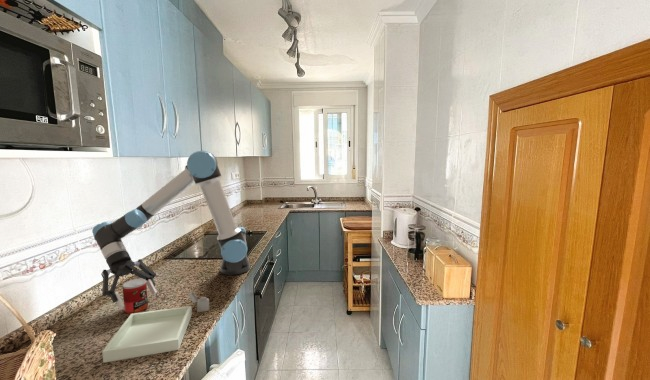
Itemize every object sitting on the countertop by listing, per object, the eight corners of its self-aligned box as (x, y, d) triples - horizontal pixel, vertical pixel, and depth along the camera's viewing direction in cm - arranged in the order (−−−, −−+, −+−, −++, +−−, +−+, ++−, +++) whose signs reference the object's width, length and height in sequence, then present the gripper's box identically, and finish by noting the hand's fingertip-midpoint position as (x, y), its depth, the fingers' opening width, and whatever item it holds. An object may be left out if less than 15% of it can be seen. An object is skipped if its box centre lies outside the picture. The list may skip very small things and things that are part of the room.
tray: (191, 314, 103) (191, 305, 103) (178, 349, 84) (178, 339, 84) (131, 322, 98) (131, 313, 97) (103, 362, 79) (102, 351, 78)
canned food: (136, 315, 102) (134, 288, 101) (119, 313, 104) (116, 286, 103) (153, 304, 110) (151, 279, 108) (136, 302, 111) (134, 277, 110)
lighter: (209, 308, 107) (208, 289, 107) (208, 310, 106) (207, 291, 105) (190, 310, 106) (188, 291, 105) (189, 313, 104) (187, 293, 103)
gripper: (144, 252, 123) (166, 292, 117) (77, 270, 102) (100, 320, 96) (149, 242, 119) (172, 283, 114) (82, 259, 99) (106, 310, 93)
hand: (139, 300), depth 105 cm, fingers open, 11 cm apart
